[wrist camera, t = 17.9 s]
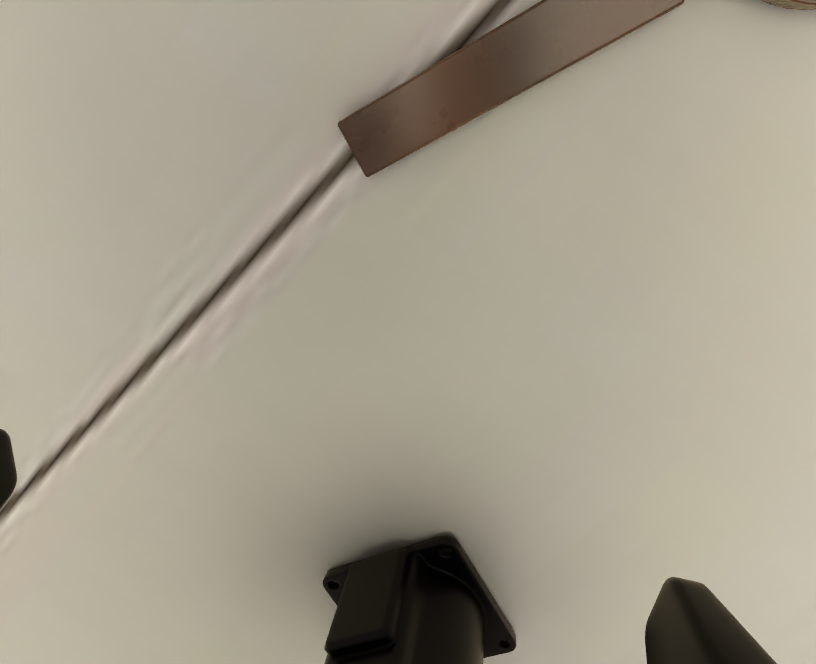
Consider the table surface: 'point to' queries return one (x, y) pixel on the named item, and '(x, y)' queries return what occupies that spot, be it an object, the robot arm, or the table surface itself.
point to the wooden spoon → (495, 73)
